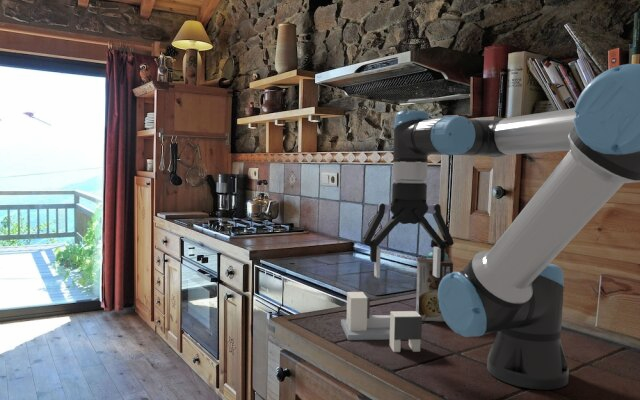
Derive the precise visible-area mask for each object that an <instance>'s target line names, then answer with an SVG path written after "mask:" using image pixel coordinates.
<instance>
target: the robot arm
mask: <svg viewBox="0 0 640 400" xmlns="http://www.w3.org/2000/svg"><path fill="white" fill-rule="evenodd" d="M392 131H393V150H392V151H393V154H392V155H393V157H392V158H393V160H392V161H393V164H392V165H393V167H392V179H393V181H395V182H393V183H392V185H391V186H392V188H391V189H392V191H391V203H390V204H385V203H383V202H378V203H377V207H376V213H375V214H374V217H373V218H372V221H371V222H370V225H369V227H368V228H367V230H366V232H365V234H364V235H363V238H362V240H361V242H362V244H363V245H365V246H369V251H370V252H369V260H370V262H372V263H374V264H373V266H374V267H373V276H374V277H375V278H377V279H380V278H381V254H382V253H381V252H382V251H381V248H380V247H379V245H380V244H382V242H383V241H384V240H385V238H387V236H388V235H389V234H390V233H391V232H392V231H393V229H394V228H395V227H396V226H398V224H399V223H400V224H402V225H407V224H412V225H417V224H420V225H421V226H422V228H423V229H424V230H425V232H426V233H427V234H428V236H429V237H430V238H431V240H434V242H435V243H436V244H437V246H438V247H434V248H433V250H434V251H433V275H434V276H435V277H436V278H440V262H444V258H445V253H446V251H445V250H446V249H447V248H448V247H449V246H453V245H454V240H453V238H452V235H451V233H450V231H449V229H448V226H447V224H446V221H445V220H444V218H443V215H442V209H441V205H440V204H438V203H435V202H434V203H432V204H427V196H428V195H427V194H428V191H427V189H428V184H427V183H425V182H426V181H427V180H428V162H429V159H428V156H430V155H435V156H436V155H437V156H438V155H439V156H441V155H442V156H444V155H445V156H476V157H477V156H478V157H481V156H482V157H489V158H490V157H491V158H497V157H505V156H508V155H519V154H520V155H521V154H522V155H523V154H535V153H549V152H552V153H553V152H567V151H568V152H567V154H565V155H564V157H563V158H562V159H561V161H560V162H559V163H558V165H557V166H556V167H555V168H554V170H553V171H552V172H551V174H550V175H549V176H548V177H547V179H546V180H545V181H544V182H543V184H542V185H541V186H540V187H539V189H538V190H537V191H536V192H535V193H534V195H533V196H532V197H531V199H530V200H529V201H528V203H526V205H525V206H524V208H523V209H522V210H521V211H520V213H518V215H517V216H516V217H515V219H514V220H513V221H512V222H511V223H510V225H509V226H508V228H507V229H505V231H504V232H503V234H501V236H500V237H499V239H498V240H497V241H496V243H495V244H494V245H493V246H492V247H491V249H490V250H482V251H478V252H477V253H476V254H475V255H474V256H473V257H472V258H471V259H470V261H469V262H468V263H467V265H466V266H465V267H464V268H463V270H461V271H453V272H452V273H450V274H447V275H446V276H444V277H443V279H442V280H441V282H440V284H439V288H438V300H439V308H440V311H441V314H442V316H443V318H444V320H445V321H444V323H446V325H447V326H448V327H449V328H450V329H451V330H452V331H453V332H454V333H456V334H457V335H459V336H462V337H465V338H466V337H467V338H470V337H482V336H484V335H489V334H494V333H496V335H495V337H494V339H493V343H492V345H491V347H490V350H489V353H488V355H487V361H486V362H487V363H486V366H487V367H486V368H487V371H488V372H489V374H490V375H491V376H492V377H494V378H495V379H498V380H499V381H501V382H503V383H506V384H509V385H513V386H515V387H519V388H525V389H531V390H533V389H534V390H539V391H541V390H545V391H547V390H549V391H550V390H557V389H561V388H564V387H565V386H567V385H568V383H569V376H570V375H569V373H570V370H569V366H568V362H567V359H566V355H565V352H564V349H563V345H562V341H561V338H562V337H561V334H562V320H563V318H562V317H563V305H564V304H563V303H564V302H563V301H564V289H565V283H564V282H565V281H564V280H565V279H564V278H565V277H564V270H563V269H562V268H561V266H559V265H557V264H554V263H551V262H552V261H553V260H554V259H555V258H557V257H558V255H559V254H560V253H561V252H562V251H563V249H564V248H565V247H566V246H567V245H568V244H569V243H570V242H571V241H572V240H573V239H574V238H575V237H576V236H577V234H578V233H580V231H582V229H584V227H585V226H586V225H587V224H588V223H589V222H590V221H591V219H593V217H595V215H596V214H597V213H598V212H599V211H600V210H601V209H602V208H603V207H604V205H605V204H606V203H607V202H608V201H609V200H610V199H611V198H612V197H613V196H614V195H615V194H616V193H617V192H618V191H619V190H620V189H621V187H622V186H623V185H624V184H631V183H640V63H626V64H621V65H617V66H613V67H611V68H608V69H607V70H605V71H603V72H601V73H600V74H598V75H597V76H596V77H594V78H593V79H591V81H590V82H589V83H588V84H587V85H586V86H585V87H584V89H583V90H582V91H581V93H580V95H579V96H578V99H577V101H576V103H575V107H572V108H565V109H559V110H553V111H546V112H539V113H532V114H525V115H518V116H512V117H505V118H497V119H491V120H490V119H489V120H481V119H478V120H477V119H469V118H467V117H466V116H463V115H462V116H461V115H458V116H457V115H445V116H443V117H442V116H441V117H434V118H430V114H429V112H428V111H426V110H417V109H416V110H414V109H413V110H412V109H411V110H401V111H398V112H396V114H395V116H394V124H393V130H392ZM388 211H390V212H391V214H392V216H391V217H390V218H389V219H388V221H387V223H386V224H385V225H384V226H383V227H382V228H381V230H379V232H378V233H377V234H376V231H377V230H378V228H379V226H380V224H381V222H382V220H383V218H384V216H385V215H386V214H387V213H388ZM428 211H429V213H430V214H432V217H433V218H434V221H435V223H436V226H437V228H438V230H439V232H440V234H441V236H440V235H439V234H438V233H437V232H436V231H435V229H434V228H433V227H432V225H431V224H430V223H429V221H428V219H426V217H425V215H426V214H427V212H428ZM375 234H376V235H375ZM374 235H375V237H374ZM441 237H442V238H441Z"/></svg>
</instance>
